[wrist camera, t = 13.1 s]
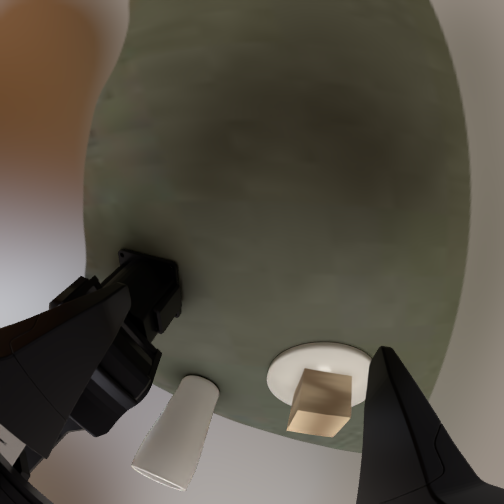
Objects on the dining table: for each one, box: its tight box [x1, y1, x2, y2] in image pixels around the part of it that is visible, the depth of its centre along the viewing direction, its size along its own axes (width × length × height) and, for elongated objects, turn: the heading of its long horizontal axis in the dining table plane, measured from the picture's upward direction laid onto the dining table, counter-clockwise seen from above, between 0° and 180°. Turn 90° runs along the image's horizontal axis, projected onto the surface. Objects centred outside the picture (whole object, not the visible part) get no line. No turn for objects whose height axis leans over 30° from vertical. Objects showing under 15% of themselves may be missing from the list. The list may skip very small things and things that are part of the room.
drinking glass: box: [131, 375, 219, 491], centre depth 27 cm, size 7×7×15 cm
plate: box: [267, 342, 372, 407], centre depth 26 cm, size 12×12×1 cm
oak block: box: [287, 368, 352, 437], centre depth 24 cm, size 5×5×5 cm
